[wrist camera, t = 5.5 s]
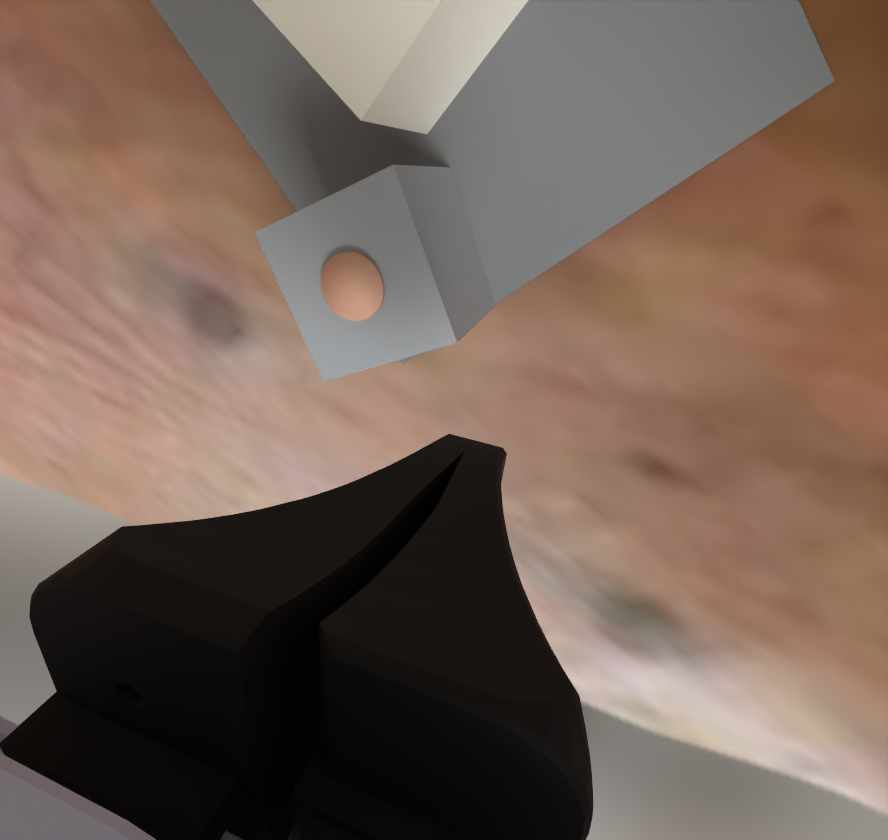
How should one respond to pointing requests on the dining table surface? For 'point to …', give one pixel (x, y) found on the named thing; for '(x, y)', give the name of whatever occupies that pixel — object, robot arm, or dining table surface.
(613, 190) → the felt mat
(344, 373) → the dot block
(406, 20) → the plain block
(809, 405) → the dining table surface
